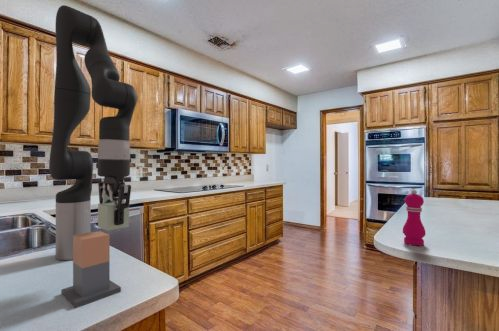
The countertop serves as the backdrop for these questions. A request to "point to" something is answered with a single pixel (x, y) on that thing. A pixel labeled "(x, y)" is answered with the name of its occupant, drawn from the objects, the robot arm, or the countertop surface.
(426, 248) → the countertop surface
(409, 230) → the pepper mill
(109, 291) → the tower base
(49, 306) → the countertop surface
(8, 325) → the countertop surface
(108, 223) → the brick sage
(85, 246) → the brick terracotta
